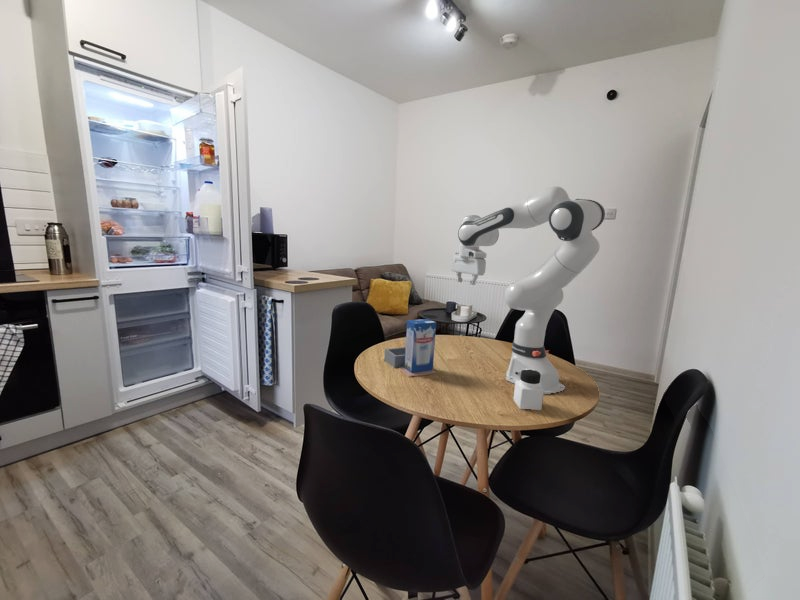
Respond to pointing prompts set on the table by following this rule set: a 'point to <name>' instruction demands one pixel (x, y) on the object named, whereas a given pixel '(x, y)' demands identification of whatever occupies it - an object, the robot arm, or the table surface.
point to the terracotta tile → (415, 373)
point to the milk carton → (420, 345)
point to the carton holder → (395, 357)
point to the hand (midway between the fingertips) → (466, 283)
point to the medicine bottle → (529, 390)
